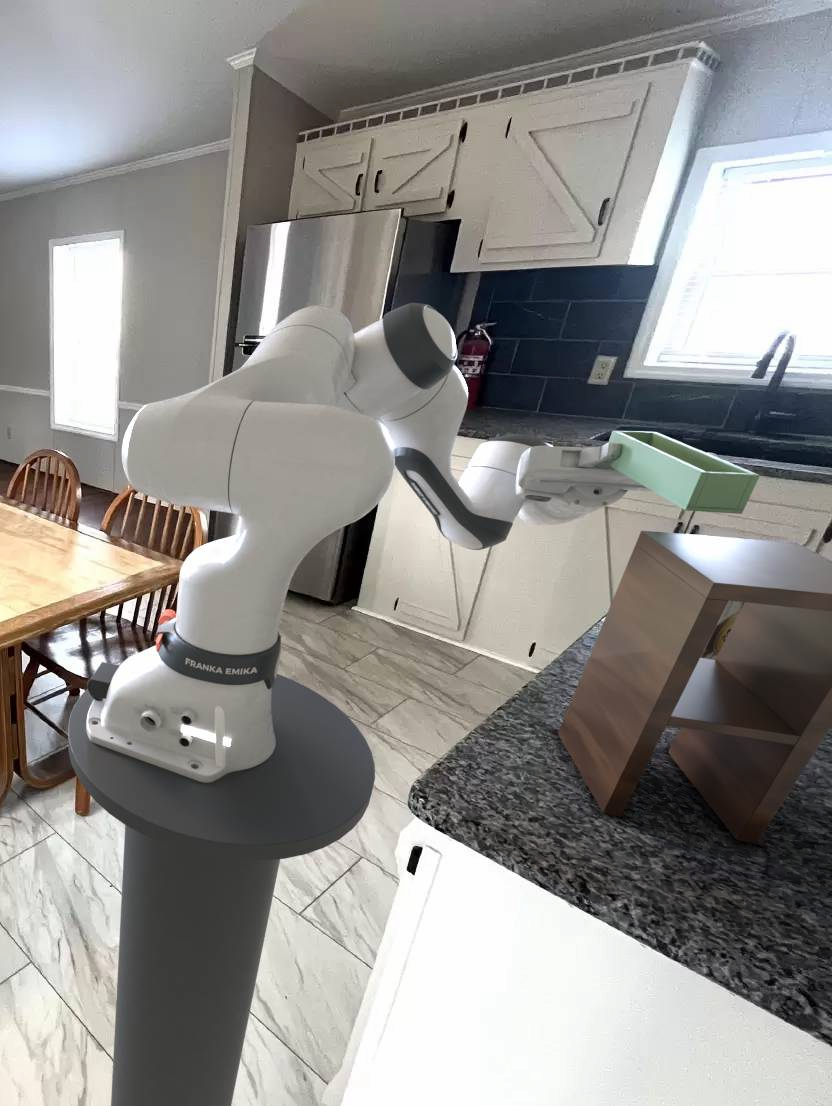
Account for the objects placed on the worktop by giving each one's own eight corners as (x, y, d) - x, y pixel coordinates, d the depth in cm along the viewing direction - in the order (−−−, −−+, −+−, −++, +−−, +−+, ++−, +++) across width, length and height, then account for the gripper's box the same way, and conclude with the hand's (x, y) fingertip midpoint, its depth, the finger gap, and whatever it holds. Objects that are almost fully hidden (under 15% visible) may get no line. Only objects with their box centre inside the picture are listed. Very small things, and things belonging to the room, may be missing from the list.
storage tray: (685, 510, 65) (701, 472, 63) (601, 461, 83) (612, 430, 82) (742, 514, 64) (760, 475, 62) (644, 462, 82) (656, 431, 80)
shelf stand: (602, 813, 65) (714, 582, 54) (557, 733, 77) (641, 530, 65) (756, 844, 61) (912, 601, 50) (684, 755, 72) (796, 542, 61)
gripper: (677, 507, 87) (751, 481, 74) (502, 496, 94) (543, 470, 81) (682, 463, 88) (757, 429, 75) (508, 454, 95) (549, 422, 82)
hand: (644, 450), depth 78 cm, fingers closed on storage tray, 4 cm apart
